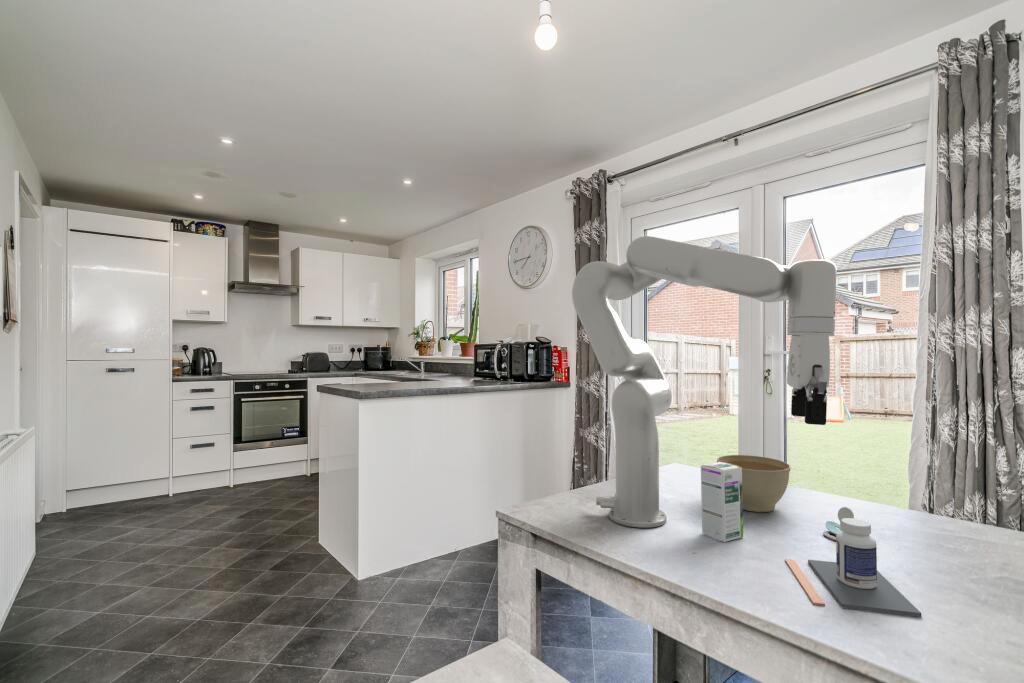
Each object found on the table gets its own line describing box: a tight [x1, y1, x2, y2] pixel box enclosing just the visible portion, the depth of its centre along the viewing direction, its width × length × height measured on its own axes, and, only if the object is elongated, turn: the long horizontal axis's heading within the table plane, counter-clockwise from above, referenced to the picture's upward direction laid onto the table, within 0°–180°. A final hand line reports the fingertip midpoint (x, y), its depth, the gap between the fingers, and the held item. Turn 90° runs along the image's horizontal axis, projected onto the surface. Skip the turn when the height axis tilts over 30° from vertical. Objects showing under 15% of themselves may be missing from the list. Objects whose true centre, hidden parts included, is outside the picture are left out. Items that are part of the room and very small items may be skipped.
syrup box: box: [700, 462, 744, 543], centre depth 102 cm, size 6×6×14 cm
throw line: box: [784, 558, 826, 607], centre depth 82 cm, size 2×16×1 cm, turn 165°
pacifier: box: [822, 506, 855, 542], centre depth 101 cm, size 7×6×6 cm
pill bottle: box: [835, 518, 878, 589], centre depth 81 cm, size 5×5×10 cm
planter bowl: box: [716, 454, 791, 513], centre depth 121 cm, size 16×16×11 cm
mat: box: [807, 559, 922, 618], centre depth 80 cm, size 10×16×1 cm, turn 165°
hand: (807, 420), depth 92 cm, fingers open, 9 cm apart
